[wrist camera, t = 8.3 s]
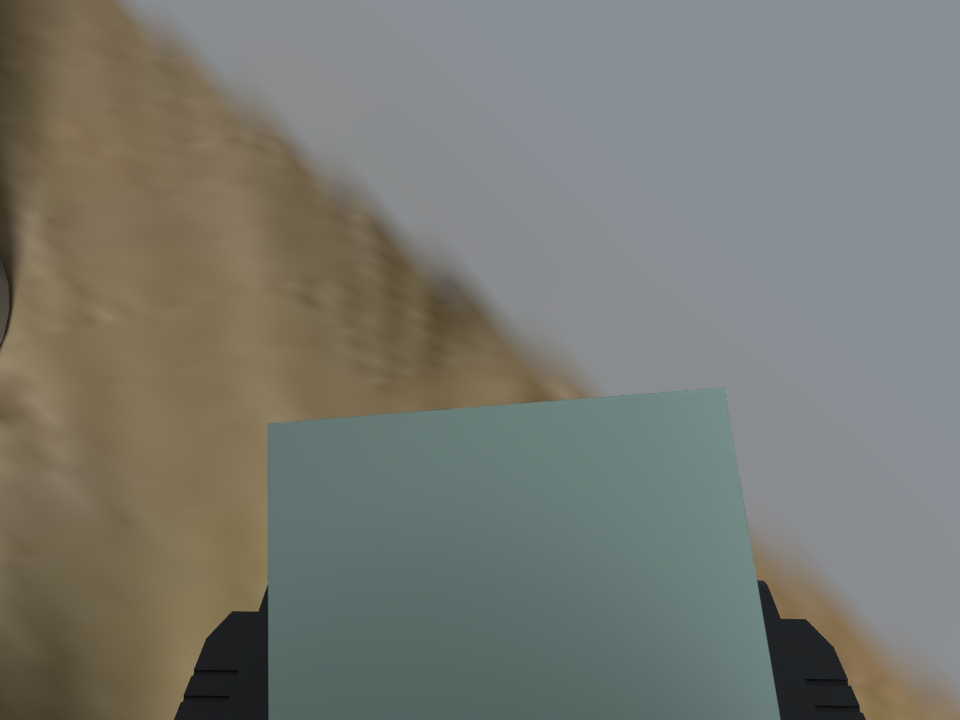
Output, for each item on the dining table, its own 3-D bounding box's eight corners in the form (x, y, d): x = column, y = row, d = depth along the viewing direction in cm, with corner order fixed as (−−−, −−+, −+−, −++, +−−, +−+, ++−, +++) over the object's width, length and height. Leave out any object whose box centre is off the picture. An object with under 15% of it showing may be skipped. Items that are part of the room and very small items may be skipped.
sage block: (377, 815, 16) (270, 951, 8) (366, 528, 18) (267, 423, 10) (663, 792, 16) (811, 906, 8) (626, 507, 18) (723, 387, 10)
